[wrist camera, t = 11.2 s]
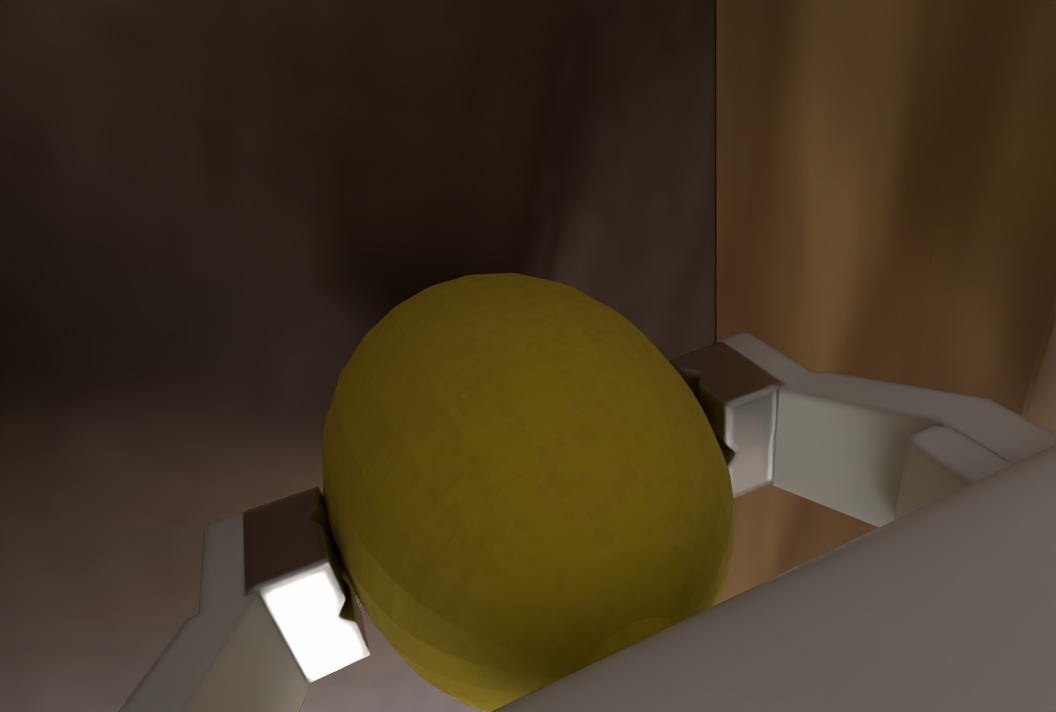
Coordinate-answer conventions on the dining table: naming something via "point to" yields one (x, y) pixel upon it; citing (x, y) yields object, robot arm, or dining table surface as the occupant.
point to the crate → (885, 213)
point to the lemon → (521, 485)
